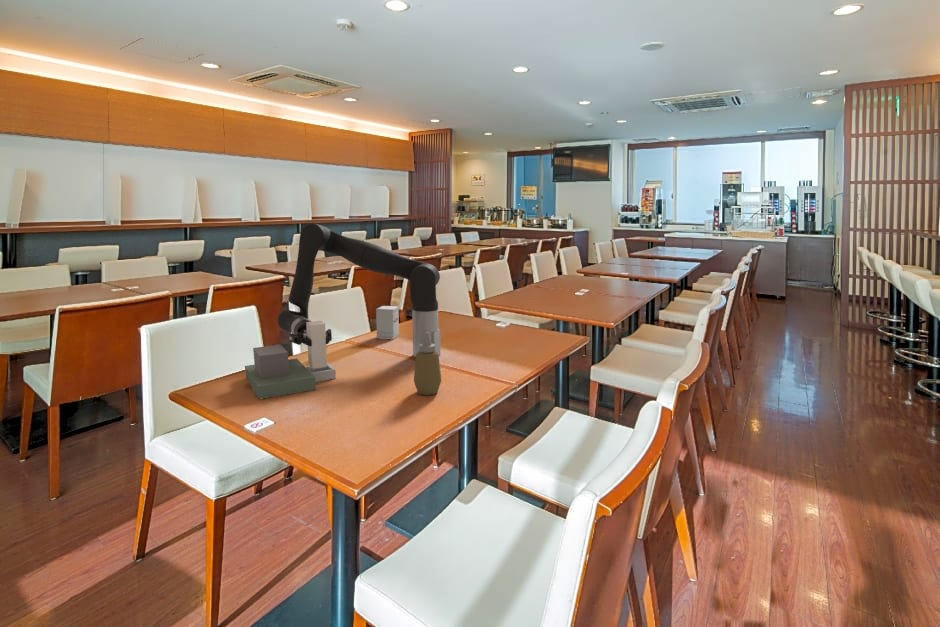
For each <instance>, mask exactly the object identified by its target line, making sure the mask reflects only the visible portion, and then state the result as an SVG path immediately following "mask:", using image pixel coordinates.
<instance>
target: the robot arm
mask: <svg viewBox="0 0 940 627" xmlns="http://www.w3.org/2000/svg"><path fill="white" fill-rule="evenodd" d="M299 234H300V235H299V240H298V241H299V243H298V252H297V258H296V259H297V261H296V267H295V271H294V276H293V281H292V284H291V288H290V291H289V292H290V293H289V296H288V302H289V303H290V304H292V305H294V306H296V307H297V308H299V311H295V310H288V309H283V310H282V311H280V312H279V314H278V316H277V324H278V326H279V329H281V330H284V331H285V332H288V333H289V334H288V335H289V342H290V343H292V344H295V345H298V346H300V345H302V344H303V345H306V346H307V347H308V346H309V347H310V346H312V340H311V339H310V338H309V337H307V326H306V322H313V321H312V320H310V319H309V303H310V298H311V295H312V291H313V286H314V269H315V260H316V258H317V255H318V253H319V251H320V252H321V251H322V252H324V253H329V254H333V255H336V256H339V257H341V258H343V259H345V260H347V261H348V262H350V263H352V264H354V265H356V266H358V267H360V268H363V269H365V270H368V271H370V272H374V273H378V274H383V275H390V276H396V277H399V278H403V279H406V280H408V281H409V295H410V297H409V298H410V303H411V311H412V312H411V314H412V317H411V318H412V322H411V323H412V356H413V357H414V358H415V357H416V354H417V352H419V345H420V344H423V340H424V335H425V332H429V335H430V339H431V343H432V344H435V351H436V352H437V353H438V354H439V356H440V355H441V329H440V328H439V301H438V300H437V286H436V285H438V283H439V282H440V277H441V275H440V272H439V270H438V269H437V267H436V266H434V265H433V264H431V263H427V262H423V261H419V260H416V259H411V258H408V257H406V256H403V255H400V254H399V253H396V252H394V251H391V250H389V249H386V248H384V247H382V246H380V245H377V244H375V243H373V242H368V241H365V240H361V239H357V238H356V239H355V238H352V237H348V236H344V235H343V234H340V233H338V232H335V231H333V230H332V229H330V228H329V227H326V226H325V225H321V224H319V223H316V222H315V223H314V222H310V223H307V224H305V225H304V226H302V228H301V231H300V233H299ZM325 330H326V345H329V343H330V342H331V341H332V340H333V339H332V338H333V337H332V329H331V328H328V329H325Z"/></svg>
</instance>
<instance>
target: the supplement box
mask: <svg viewBox="0 0 940 627" xmlns="http://www.w3.org/2000/svg"><path fill="white" fill-rule="evenodd" d="M375 314H376V315H375V317H376V318H375V319H376V320H375V321H376V322H375V323H376V339H377V338H380V339H379V340H387V339H391V341H393V340H394V339H396V338H397V337H399V336H400V328H399V327H400V324H399V322H400V321H399V320H400V319H399V306H394V305H392V306H391V305H381V306H379V307H378V308H376V309H375Z"/></svg>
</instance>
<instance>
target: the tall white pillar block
mask: <svg viewBox="0 0 940 627" xmlns="http://www.w3.org/2000/svg"><path fill="white" fill-rule="evenodd" d="M306 326H307V337H309V338H310V339H311V340H312V346H310V347H309V346H308V345H307V358H308V366H310V367H311V368H312V369H316V368H323V367H327V363H328V358H327V357H328V355H327V352H328V351H327V344H326V330H327V329H326V323H325V322H324V321H322V320H316V321H312V322H306Z"/></svg>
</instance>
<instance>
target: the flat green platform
mask: <svg viewBox="0 0 940 627" xmlns="http://www.w3.org/2000/svg"><path fill="white" fill-rule="evenodd" d="M252 351H253V352H252V353H253V360H254V362H253V364H248V365H244V372H245V379H246V381H247V380H248V381H247V382H248V384H249V386H250V385H251V386H250V387H251V389H252V391H253V390H254V391H253V392H255V393H254V394H255V396H256V395H257V396H256V398H257V397H258V398H257V400H259V399H261V398H266V399H269V398H268V397H272V398H275V397H274V396H278V397H282V396H281V395H283V396H287V395H286V394H289V395H293V394H292V393H295V394H299V393H298V392H300V393H304V392H303V391H306V392H310V390H312V391H316V390H317V388H316V387H317V386H316V383H319V382H324V381H329V380H330V379H331V380H335V378H336V379H337V376H336V375H337V374H336V373H337V372H336V368H334V366H332V365H331V364H330V363H328V362H327V367H323V368H316V369H312V368H311V367H310V366H309V365H304V364H303V363H302V362H301V360H299V359H298V358H291V359H290V358H289V353H288V352H289V351H288V350H286V348H284V346H283V345H282V344H274V345H265V346H259V347H253V348H252ZM261 400H262V399H261Z"/></svg>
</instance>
